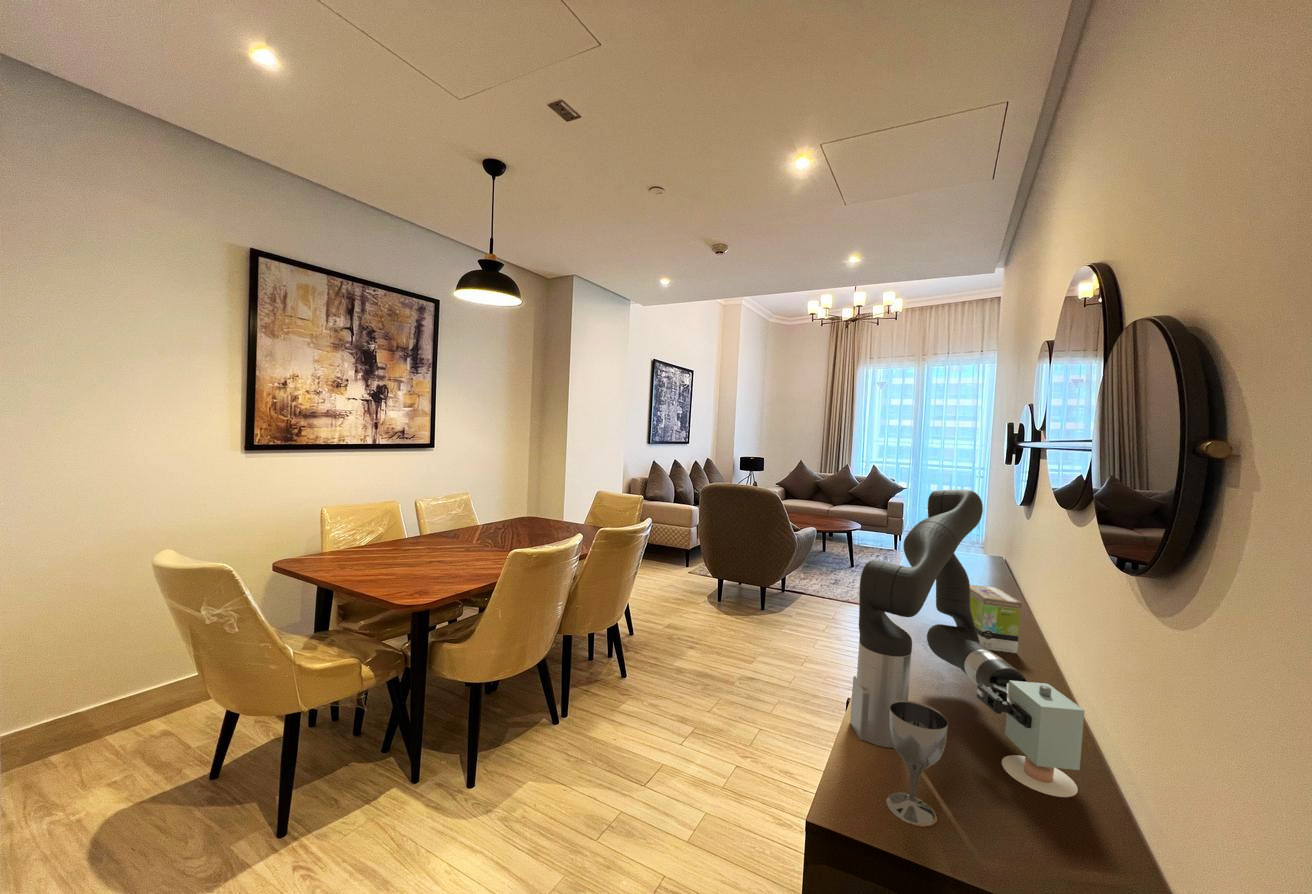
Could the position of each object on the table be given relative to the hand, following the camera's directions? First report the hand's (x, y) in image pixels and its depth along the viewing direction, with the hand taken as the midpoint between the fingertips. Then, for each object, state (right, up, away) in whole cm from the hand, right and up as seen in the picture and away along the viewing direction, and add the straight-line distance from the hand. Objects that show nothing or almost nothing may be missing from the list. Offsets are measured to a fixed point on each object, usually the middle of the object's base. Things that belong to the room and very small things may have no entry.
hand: (1052, 725), depth 84 cm
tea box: (+31, -11, +64) cm, 72 cm away
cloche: (0, -6, +2) cm, 6 cm away
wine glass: (-27, -10, -6) cm, 29 cm away
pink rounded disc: (-1, -10, +2) cm, 10 cm away
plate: (-1, -11, +2) cm, 11 cm away
